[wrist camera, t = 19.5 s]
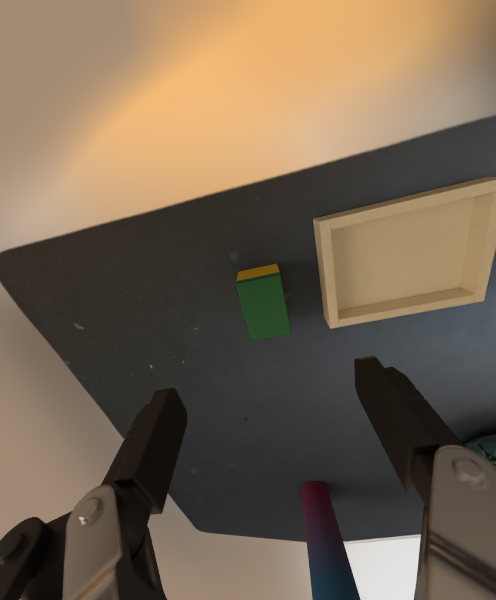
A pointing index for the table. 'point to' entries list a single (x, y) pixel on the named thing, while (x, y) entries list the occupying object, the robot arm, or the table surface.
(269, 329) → the sponge
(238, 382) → the table surface
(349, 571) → the cup
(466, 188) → the tray
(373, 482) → the table surface
